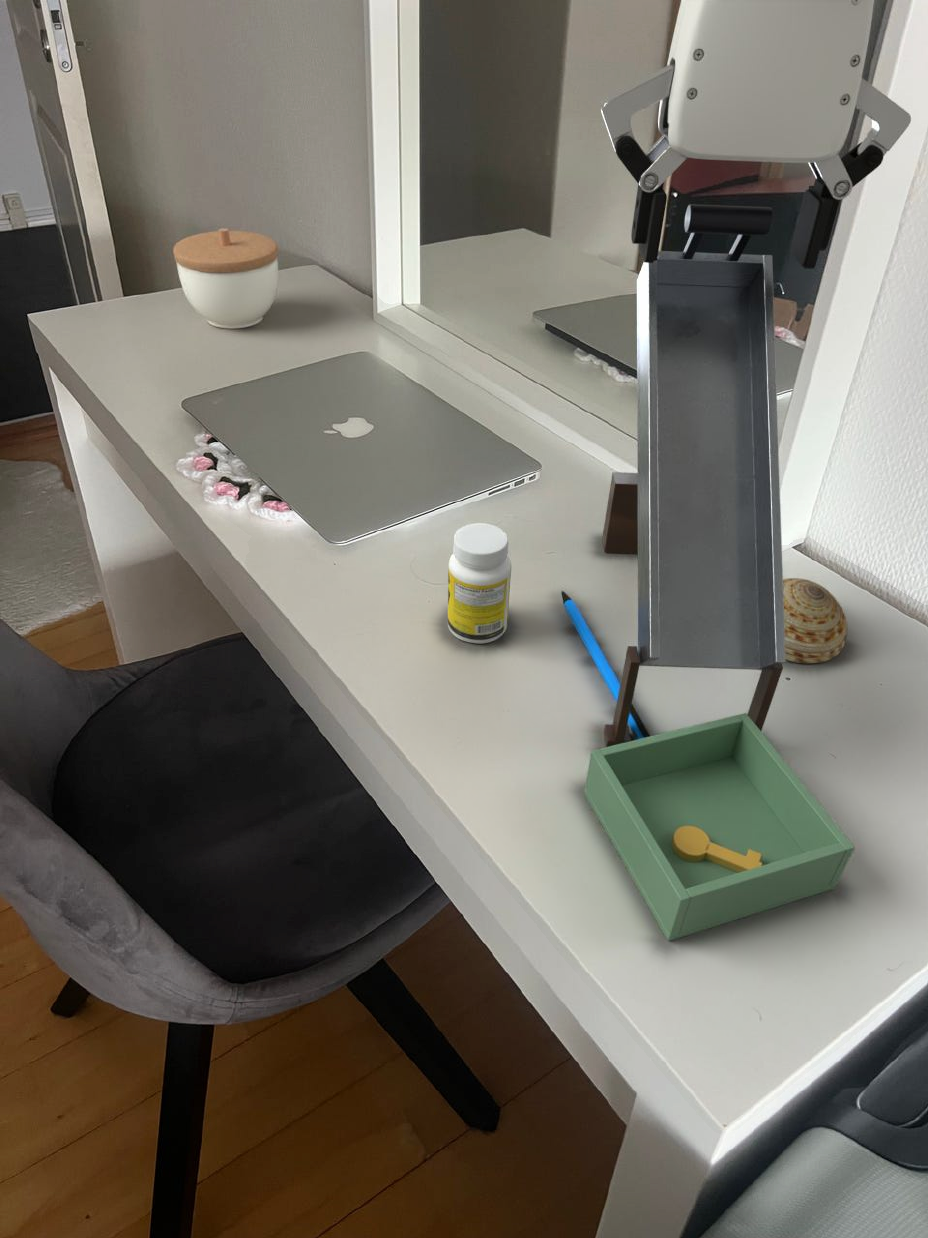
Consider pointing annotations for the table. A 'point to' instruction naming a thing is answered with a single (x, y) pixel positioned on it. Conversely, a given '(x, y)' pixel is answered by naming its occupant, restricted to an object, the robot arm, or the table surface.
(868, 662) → the table surface
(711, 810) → the bin
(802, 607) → the seashell
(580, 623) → the pen
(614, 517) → the stand
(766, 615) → the trough
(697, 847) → the key
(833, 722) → the table surface
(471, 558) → the supplement bottle
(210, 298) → the lidded bowl
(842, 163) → the robot arm
